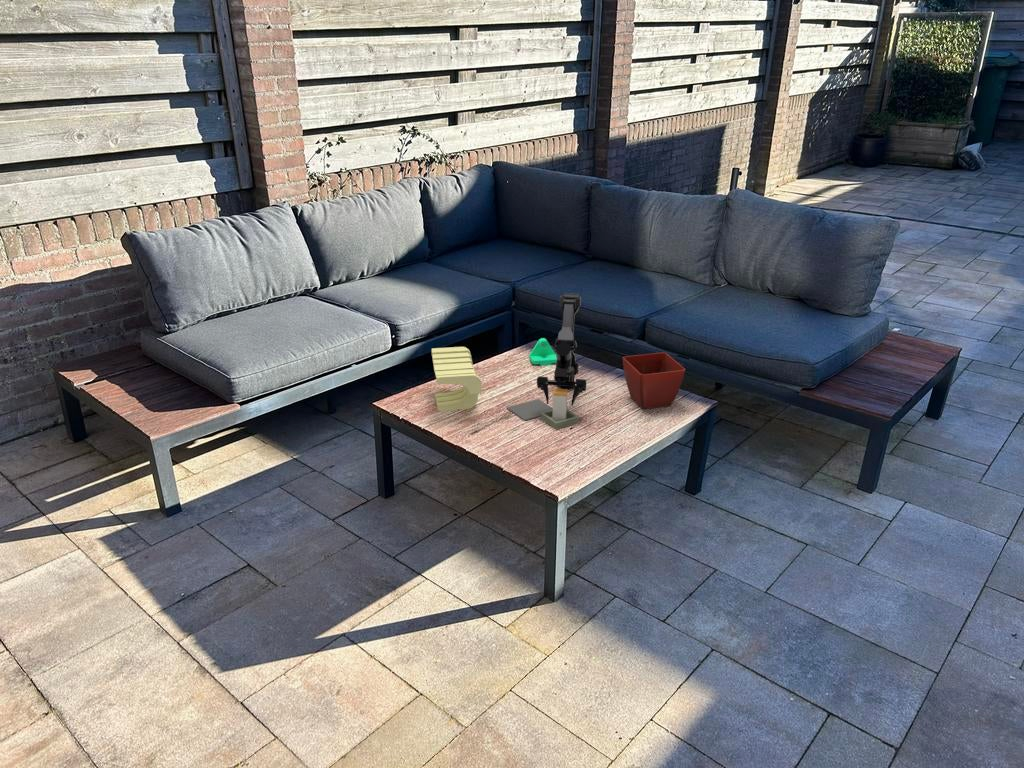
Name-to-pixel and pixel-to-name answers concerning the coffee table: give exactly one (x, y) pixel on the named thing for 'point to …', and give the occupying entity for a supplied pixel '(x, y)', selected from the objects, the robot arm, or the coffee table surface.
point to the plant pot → (653, 379)
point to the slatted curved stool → (455, 378)
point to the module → (559, 404)
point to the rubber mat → (529, 409)
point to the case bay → (563, 423)
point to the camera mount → (542, 353)
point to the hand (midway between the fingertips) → (559, 404)
